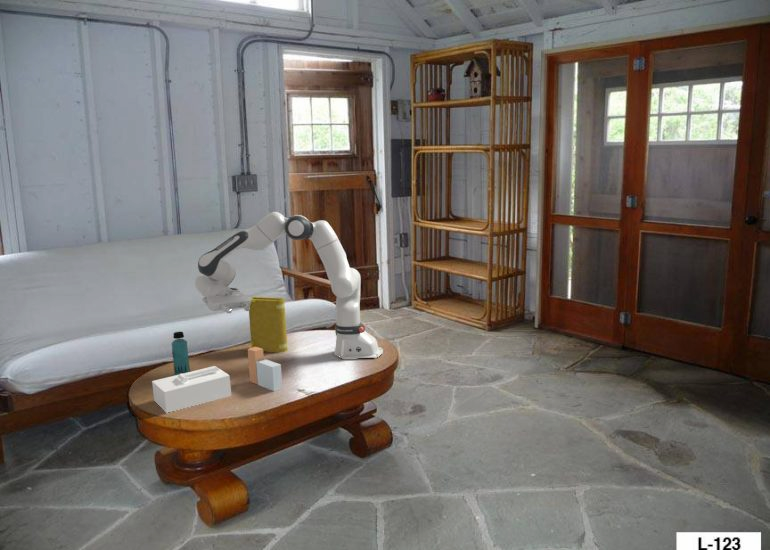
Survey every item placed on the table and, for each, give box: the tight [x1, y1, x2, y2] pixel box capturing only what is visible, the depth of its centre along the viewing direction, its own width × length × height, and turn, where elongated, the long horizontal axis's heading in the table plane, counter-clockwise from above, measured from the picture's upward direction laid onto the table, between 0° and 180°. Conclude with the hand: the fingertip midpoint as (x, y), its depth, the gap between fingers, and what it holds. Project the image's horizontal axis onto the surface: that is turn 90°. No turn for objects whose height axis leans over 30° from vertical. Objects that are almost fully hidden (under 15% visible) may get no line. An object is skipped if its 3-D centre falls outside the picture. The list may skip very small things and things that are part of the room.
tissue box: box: [151, 365, 232, 414], centre depth 236 cm, size 14×25×11 cm, turn 128°
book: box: [248, 296, 289, 353], centre depth 290 cm, size 17×7×25 cm, turn 73°
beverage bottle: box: [171, 331, 191, 376], centre depth 257 cm, size 6×7×20 cm
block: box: [247, 347, 265, 385], centre depth 251 cm, size 5×4×14 cm
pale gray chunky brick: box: [256, 358, 283, 392], centre depth 245 cm, size 11×4×10 cm, turn 47°
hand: (239, 310), depth 260 cm, fingers open, 8 cm apart
